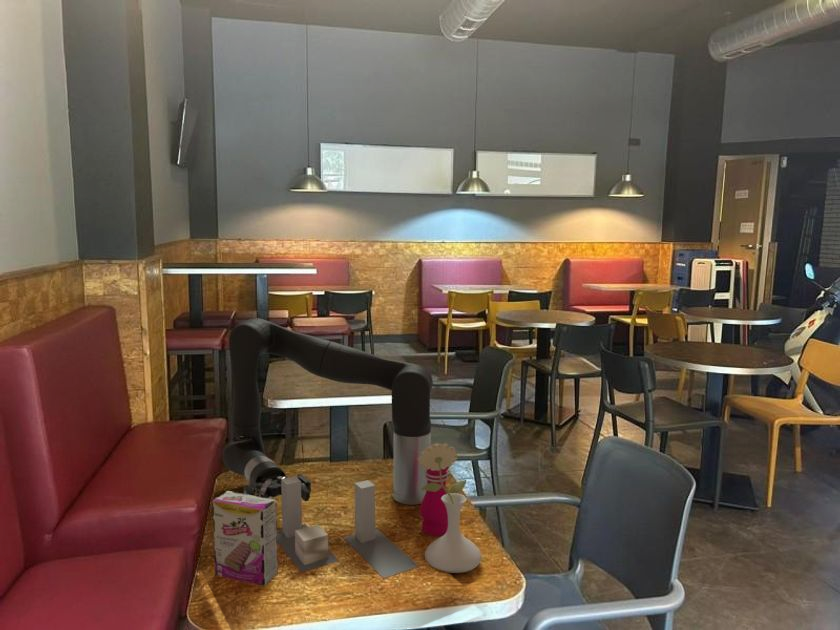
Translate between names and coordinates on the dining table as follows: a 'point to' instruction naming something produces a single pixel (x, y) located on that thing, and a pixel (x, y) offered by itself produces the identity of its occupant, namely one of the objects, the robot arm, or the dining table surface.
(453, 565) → the flower in vase
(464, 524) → the dining table surface
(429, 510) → the pepper mill
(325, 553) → the pale block
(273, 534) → the candy bar box
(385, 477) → the dining table surface
